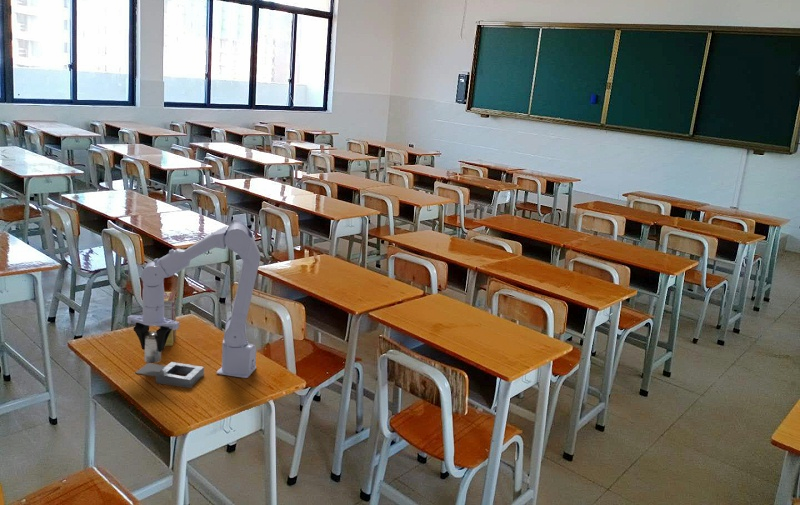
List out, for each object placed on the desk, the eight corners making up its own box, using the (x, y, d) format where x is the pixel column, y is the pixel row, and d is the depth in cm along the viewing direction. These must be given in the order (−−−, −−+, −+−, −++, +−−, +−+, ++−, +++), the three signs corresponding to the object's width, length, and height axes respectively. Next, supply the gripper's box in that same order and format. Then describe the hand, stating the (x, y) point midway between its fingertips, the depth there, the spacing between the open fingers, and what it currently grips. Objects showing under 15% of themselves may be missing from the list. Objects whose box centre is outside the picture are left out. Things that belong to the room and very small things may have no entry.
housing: (203, 374, 189) (204, 366, 189) (189, 388, 181) (190, 379, 180) (171, 369, 191) (171, 361, 190) (155, 382, 182) (155, 374, 181)
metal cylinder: (164, 358, 190) (164, 332, 188) (154, 364, 186) (154, 337, 184) (150, 355, 191) (150, 330, 189) (141, 361, 187) (141, 335, 185)
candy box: (162, 335, 214) (162, 291, 211) (176, 335, 215) (177, 291, 212) (158, 346, 206) (158, 300, 202) (172, 346, 207) (173, 300, 203)
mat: (170, 367, 192) (170, 366, 192) (158, 377, 185) (158, 376, 185) (147, 363, 193) (147, 362, 193) (135, 373, 186) (135, 372, 186)
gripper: (184, 303, 187) (183, 348, 191) (136, 297, 189) (136, 340, 192) (172, 311, 181) (172, 357, 184) (123, 304, 182) (123, 349, 185)
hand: (153, 349), depth 188 cm, fingers closed on metal cylinder, 4 cm apart
